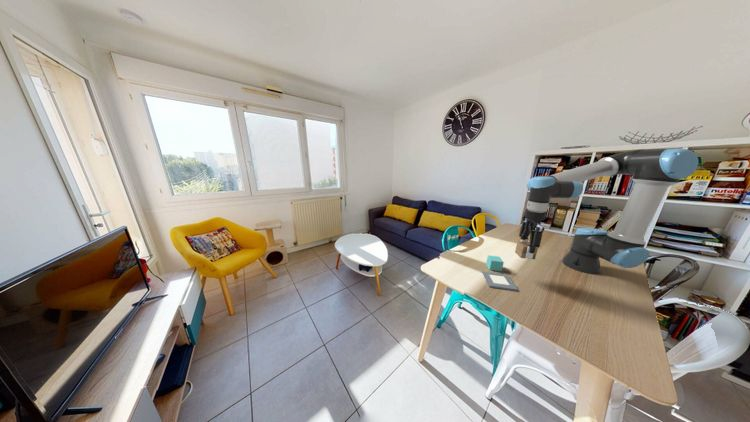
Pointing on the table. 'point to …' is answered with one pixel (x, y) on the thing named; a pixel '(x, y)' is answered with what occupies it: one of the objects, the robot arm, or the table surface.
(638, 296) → the table surface
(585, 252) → the robot arm
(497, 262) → the teal block
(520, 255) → the walnut block
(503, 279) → the build pad
